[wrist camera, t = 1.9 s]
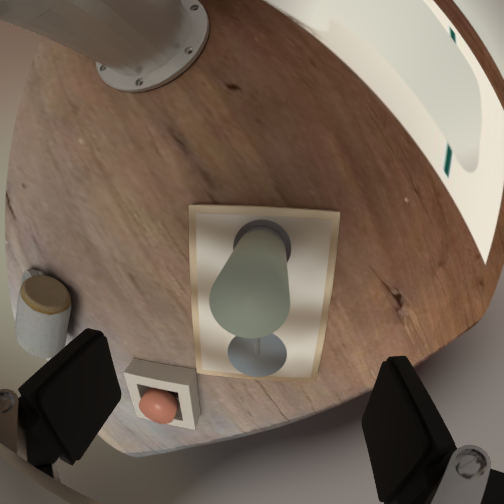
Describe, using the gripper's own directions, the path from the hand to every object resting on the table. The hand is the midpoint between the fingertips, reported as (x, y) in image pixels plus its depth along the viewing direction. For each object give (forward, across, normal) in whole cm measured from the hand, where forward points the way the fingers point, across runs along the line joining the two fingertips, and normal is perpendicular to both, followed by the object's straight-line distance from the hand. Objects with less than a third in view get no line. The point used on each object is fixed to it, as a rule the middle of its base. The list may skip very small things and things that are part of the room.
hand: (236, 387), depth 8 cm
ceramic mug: (+18, +28, +8) cm, 34 cm away
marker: (+17, 0, -1) cm, 17 cm away
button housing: (+18, +11, +18) cm, 28 cm away
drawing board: (+18, 0, +5) cm, 19 cm away
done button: (+16, +11, +18) cm, 27 cm away
